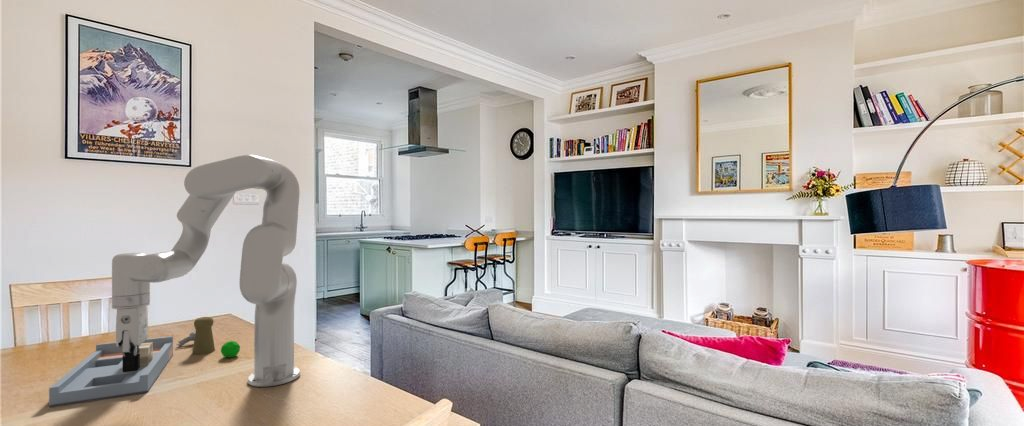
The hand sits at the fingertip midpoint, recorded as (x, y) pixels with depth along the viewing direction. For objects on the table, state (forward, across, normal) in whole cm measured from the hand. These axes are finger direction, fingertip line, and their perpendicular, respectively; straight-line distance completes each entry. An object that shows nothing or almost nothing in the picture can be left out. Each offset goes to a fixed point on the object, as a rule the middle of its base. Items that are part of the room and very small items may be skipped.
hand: (131, 370), depth 116 cm
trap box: (+4, +8, +4) cm, 9 cm away
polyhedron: (+4, +14, -21) cm, 25 cm away
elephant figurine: (+4, +34, -10) cm, 36 cm away
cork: (+4, +24, -13) cm, 27 cm away
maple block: (+1, +8, 0) cm, 8 cm away
